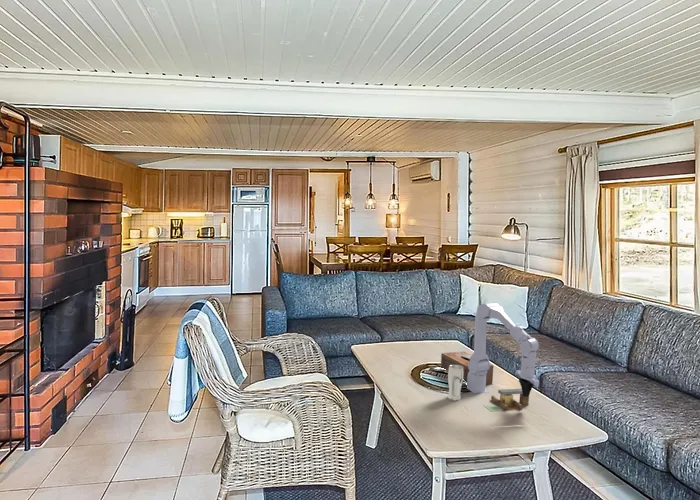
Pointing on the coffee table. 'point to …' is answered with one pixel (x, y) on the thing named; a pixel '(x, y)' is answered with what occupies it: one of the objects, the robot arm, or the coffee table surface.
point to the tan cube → (507, 399)
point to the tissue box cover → (463, 364)
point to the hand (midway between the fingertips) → (525, 396)
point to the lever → (510, 391)
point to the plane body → (515, 404)
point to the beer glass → (455, 382)
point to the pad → (493, 408)
